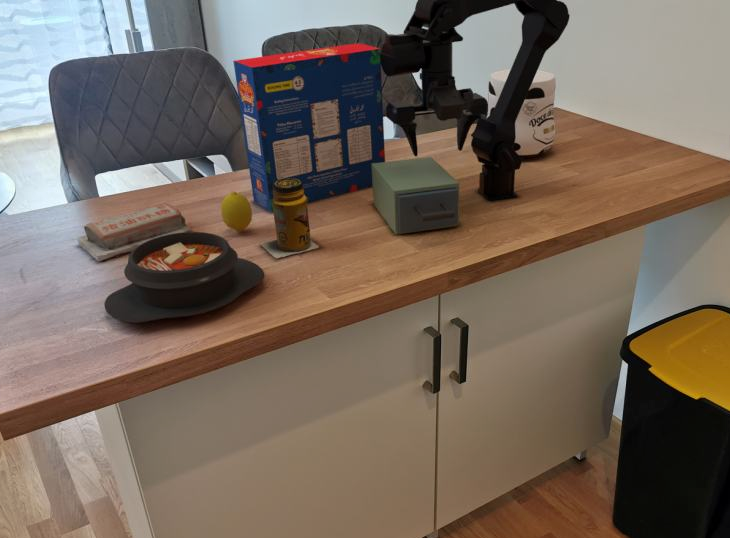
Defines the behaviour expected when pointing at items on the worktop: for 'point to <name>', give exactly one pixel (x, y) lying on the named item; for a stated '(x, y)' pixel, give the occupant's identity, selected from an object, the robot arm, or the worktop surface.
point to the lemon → (236, 211)
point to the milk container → (529, 113)
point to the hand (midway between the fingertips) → (437, 153)
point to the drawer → (427, 209)
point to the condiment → (290, 219)
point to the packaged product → (131, 230)
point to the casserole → (181, 278)
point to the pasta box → (312, 119)
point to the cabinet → (407, 185)
